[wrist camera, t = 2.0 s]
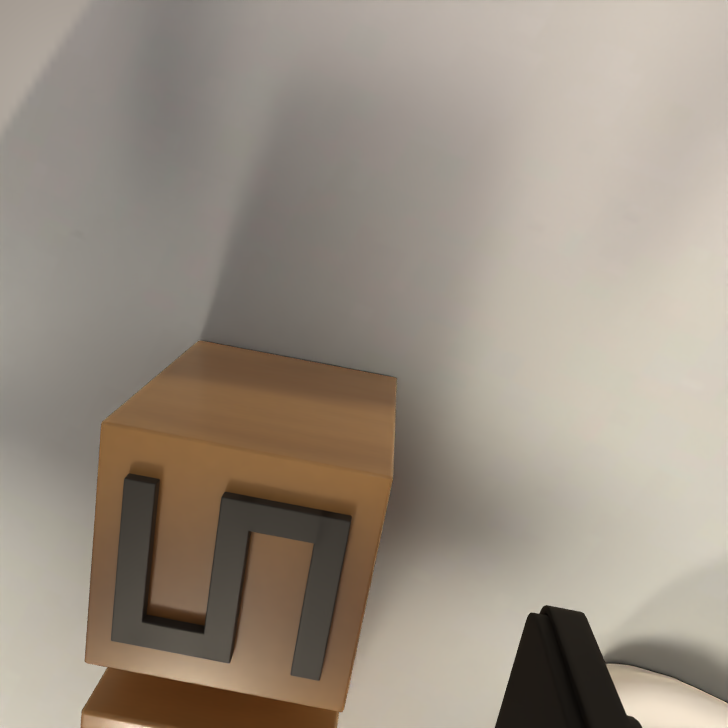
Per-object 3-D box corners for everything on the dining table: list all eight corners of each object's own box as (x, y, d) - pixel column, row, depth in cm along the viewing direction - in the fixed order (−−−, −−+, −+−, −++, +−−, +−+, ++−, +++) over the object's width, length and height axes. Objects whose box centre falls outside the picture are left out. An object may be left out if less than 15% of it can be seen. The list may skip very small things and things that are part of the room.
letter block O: (174, 551, 16) (74, 720, 11) (354, 586, 16) (332, 769, 11) (158, 697, 18) (62, 905, 13) (325, 729, 18) (293, 950, 13)
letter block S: (198, 339, 15) (93, 426, 10) (397, 377, 15) (393, 484, 10) (179, 516, 16) (77, 672, 11) (361, 551, 16) (341, 723, 11)
